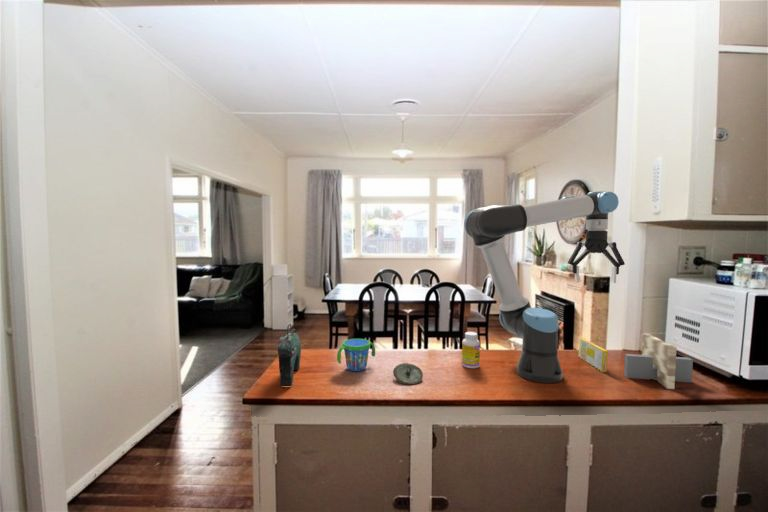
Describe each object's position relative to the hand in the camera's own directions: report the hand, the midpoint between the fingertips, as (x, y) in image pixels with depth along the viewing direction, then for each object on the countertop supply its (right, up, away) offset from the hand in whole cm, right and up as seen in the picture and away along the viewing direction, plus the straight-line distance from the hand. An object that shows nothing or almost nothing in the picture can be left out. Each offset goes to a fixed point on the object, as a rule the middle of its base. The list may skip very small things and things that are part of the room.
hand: (594, 282), depth 141 cm
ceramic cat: (-121, -33, -18) cm, 126 cm away
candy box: (-5, -32, -6) cm, 33 cm away
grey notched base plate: (+10, -33, -20) cm, 40 cm away
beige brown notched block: (+10, -33, -20) cm, 40 cm away
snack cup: (-97, -33, -10) cm, 103 cm away
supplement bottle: (-53, -32, -7) cm, 62 cm away
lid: (-78, -33, -20) cm, 87 cm away
